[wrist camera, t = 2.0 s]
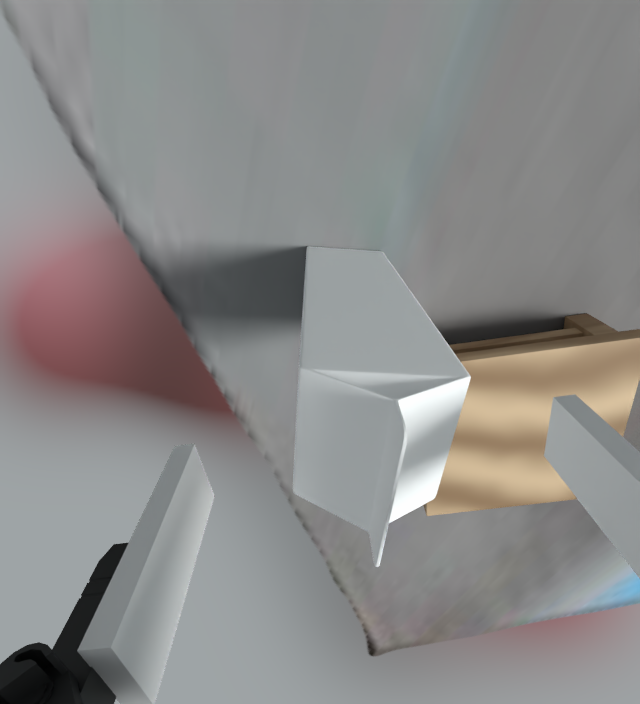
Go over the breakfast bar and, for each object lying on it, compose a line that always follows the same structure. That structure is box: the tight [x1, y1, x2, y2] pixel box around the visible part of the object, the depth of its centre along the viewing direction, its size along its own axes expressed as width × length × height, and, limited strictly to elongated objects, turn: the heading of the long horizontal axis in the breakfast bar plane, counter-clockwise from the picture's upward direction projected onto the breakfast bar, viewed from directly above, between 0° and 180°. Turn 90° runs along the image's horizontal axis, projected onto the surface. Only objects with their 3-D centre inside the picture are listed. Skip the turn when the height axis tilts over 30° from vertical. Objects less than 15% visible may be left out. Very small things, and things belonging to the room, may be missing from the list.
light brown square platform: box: [424, 313, 640, 516], centre depth 34 cm, size 16×16×6 cm
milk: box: [293, 246, 471, 567], centre depth 21 cm, size 6×6×22 cm
